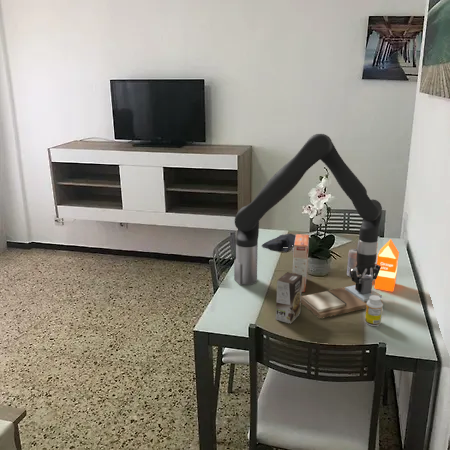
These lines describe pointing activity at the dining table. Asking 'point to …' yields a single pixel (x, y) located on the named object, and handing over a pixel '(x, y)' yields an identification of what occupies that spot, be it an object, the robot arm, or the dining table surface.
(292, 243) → the dark slate chunk
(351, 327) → the dining table surface
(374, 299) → the supplement bottle
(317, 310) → the board
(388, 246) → the orange juice
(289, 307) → the coffee box
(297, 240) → the cracker box
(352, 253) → the energy drink
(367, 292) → the grey cube on base
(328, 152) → the robot arm
